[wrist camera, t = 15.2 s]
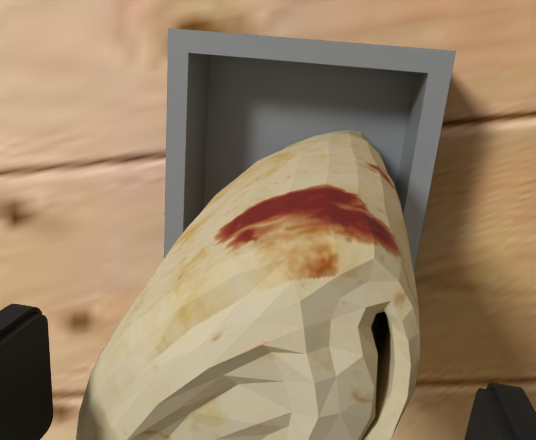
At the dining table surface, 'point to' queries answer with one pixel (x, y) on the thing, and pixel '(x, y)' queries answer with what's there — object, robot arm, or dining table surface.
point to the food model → (272, 312)
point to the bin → (296, 112)
